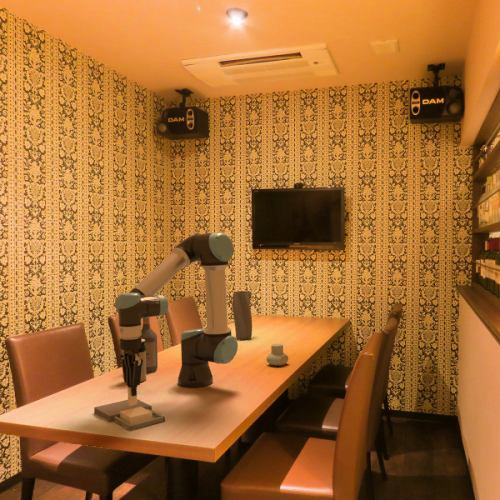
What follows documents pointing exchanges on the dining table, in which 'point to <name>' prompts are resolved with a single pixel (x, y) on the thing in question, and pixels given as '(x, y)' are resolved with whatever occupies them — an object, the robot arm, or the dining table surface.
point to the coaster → (136, 415)
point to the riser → (117, 409)
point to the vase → (242, 314)
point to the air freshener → (277, 355)
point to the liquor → (150, 346)
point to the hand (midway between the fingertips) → (132, 404)
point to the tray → (155, 419)
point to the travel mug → (143, 356)
